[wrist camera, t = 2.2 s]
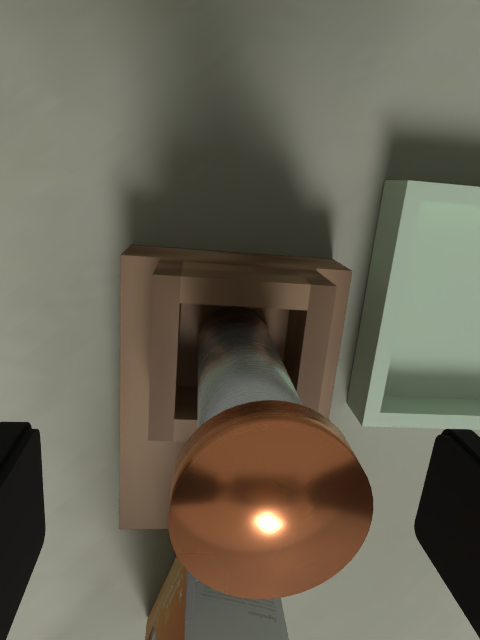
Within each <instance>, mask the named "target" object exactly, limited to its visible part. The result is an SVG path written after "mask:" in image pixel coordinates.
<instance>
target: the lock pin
mask: <svg viewBox="0 0 480 640" xmlns="http://www.w3.org/2000/svg"><path fill="white" fill-rule="evenodd" d="M372 515H373V496H372V490H371V486H370V483H369V481H368V478H367V476H366V474H365V472H364V470H363V469H362V467H361V465H360V463H359V462H358V460H357V458H356V456H355V454H354V453H353V451H352V449H351V447H350V446H349V444H348V442H347V440H346V439H345V437H344V435H343V434H342V433H341V431H340V430H339V429H338V428H337V427H336V426H335V425H334V424H333V423H332V422H331V421H330V420H329V419H328V418H326V417H325V416H323V415H322V414H320V413H319V412H317V411H315V410H313V409H311V408H308V407H306V406H303V405H302V403H301V401H300V399H299V396H298V394H297V392H296V390H295V388H294V386H293V383H292V381H291V379H290V377H289V375H288V373H287V370H286V368H285V366H284V364H283V362H282V360H281V357H280V355H279V353H278V351H277V349H276V347H275V344H274V342H273V340H272V338H271V336H270V334H269V331H268V329H267V327H266V325H265V323H264V321H263V320H262V319H261V317H260V316H259V315H258V314H256V313H255V312H254V311H252V310H250V309H248V308H245V307H238V306H227V307H223V308H220V309H218V310H216V311H214V312H213V313H211V314H210V315H209V316H208V317H207V318H206V319H205V320H204V322H203V323H202V325H201V327H200V330H199V333H198V424H197V430H196V431H195V432H194V433H193V434H192V435H191V436H190V437H189V439H188V440H187V441H186V443H185V444H184V446H183V447H182V449H181V450H180V453H179V455H178V457H177V459H176V462H175V465H174V469H173V474H172V482H171V493H170V504H169V515H168V530H169V535H170V540H171V543H172V546H173V549H174V551H175V553H176V555H177V557H178V559H179V560H180V562H181V563H182V564H183V566H184V567H185V568H186V569H187V570H188V571H189V572H190V573H191V574H192V575H193V576H194V577H195V578H196V579H198V580H199V581H201V582H202V583H203V584H205V585H207V586H209V587H211V588H212V589H214V590H217V591H219V592H222V593H225V594H228V595H232V596H235V597H241V598H248V599H274V598H280V597H286V596H290V595H294V594H298V593H301V592H304V591H306V590H309V589H311V588H313V587H315V586H317V585H319V584H321V583H323V582H325V581H326V580H328V579H329V578H331V577H333V576H334V575H335V574H336V573H338V572H339V571H340V570H341V569H343V568H344V567H345V566H346V565H347V564H348V563H349V562H350V561H351V560H352V558H353V557H354V556H355V554H356V553H357V552H358V551H359V549H360V547H361V546H362V544H363V542H364V541H365V538H366V536H367V534H368V531H369V528H370V525H371V521H372Z"/></svg>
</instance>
